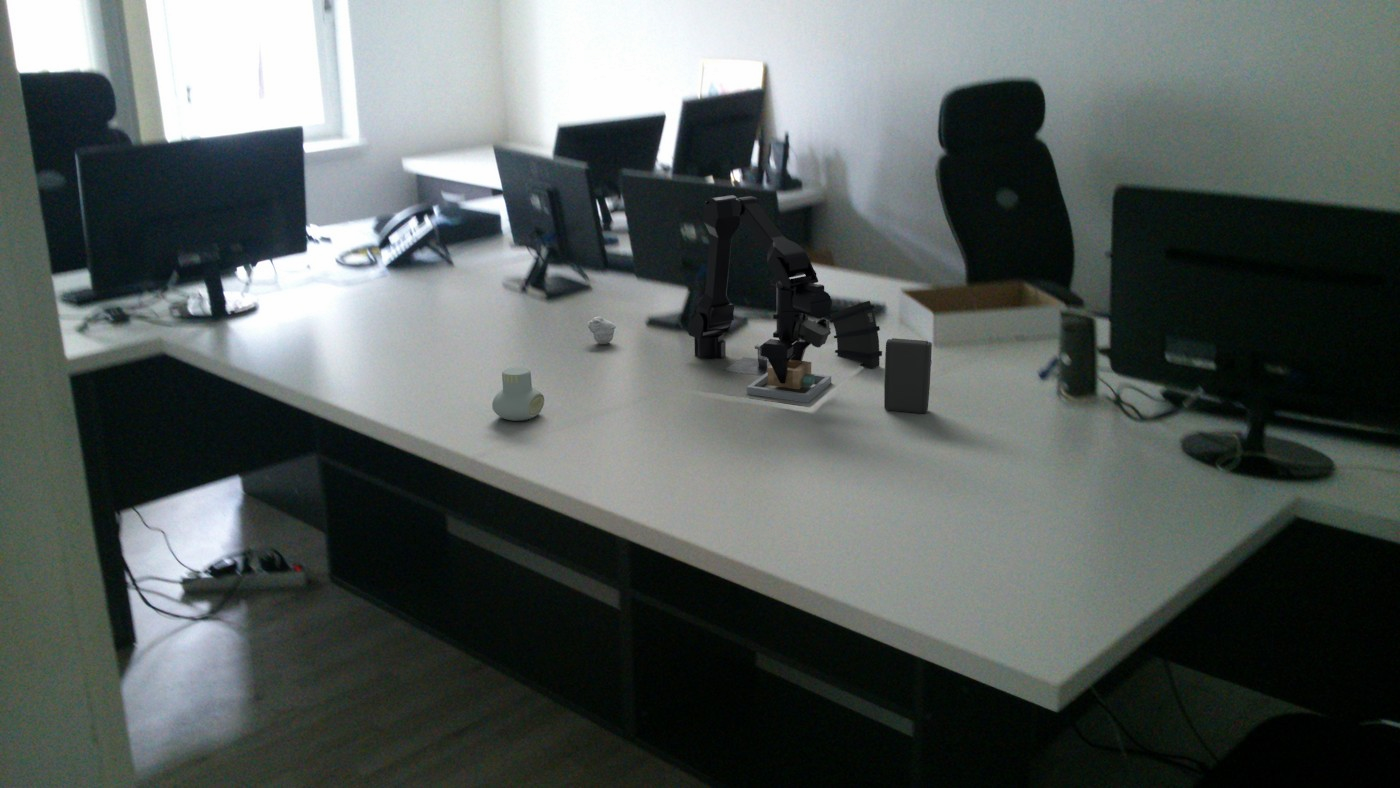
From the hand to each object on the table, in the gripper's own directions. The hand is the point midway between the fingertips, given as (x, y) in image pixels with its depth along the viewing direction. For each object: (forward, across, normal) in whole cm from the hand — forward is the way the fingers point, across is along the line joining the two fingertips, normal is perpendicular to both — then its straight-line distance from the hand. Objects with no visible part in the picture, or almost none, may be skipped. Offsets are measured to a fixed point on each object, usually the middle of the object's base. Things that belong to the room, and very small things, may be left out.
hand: (789, 378), depth 259 cm
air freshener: (+4, -37, +45) cm, 58 cm away
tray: (+3, 0, 0) cm, 3 cm away
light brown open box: (+1, 0, 0) cm, 1 cm away
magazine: (+4, +26, -6) cm, 27 cm away
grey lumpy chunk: (+4, +15, +56) cm, 59 cm away
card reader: (+4, 0, -26) cm, 27 cm away
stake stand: (+3, +11, +13) cm, 17 cm away
